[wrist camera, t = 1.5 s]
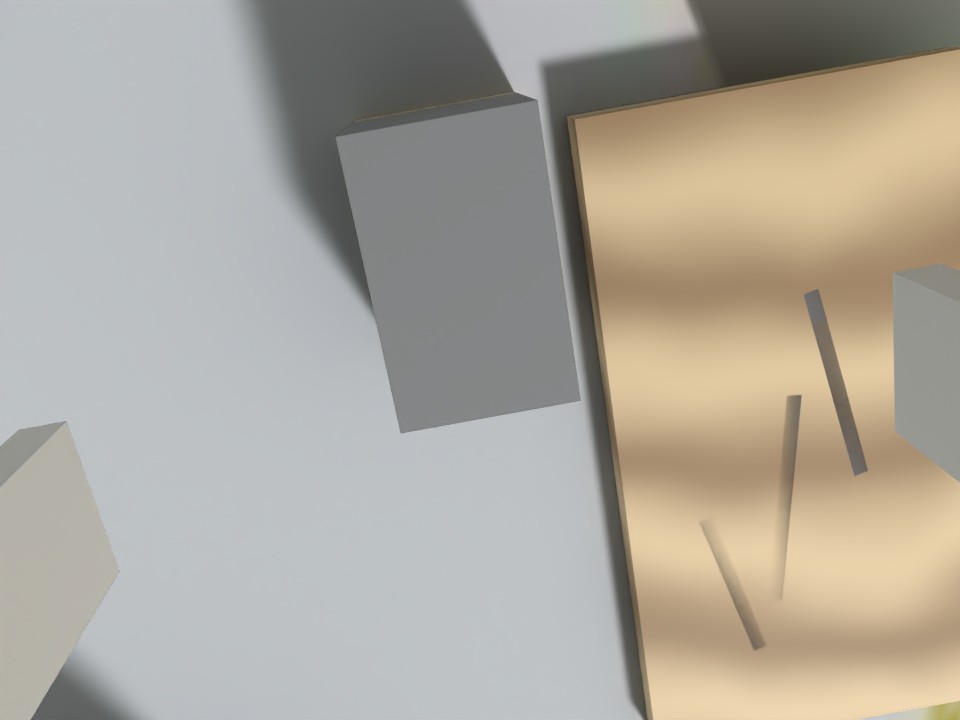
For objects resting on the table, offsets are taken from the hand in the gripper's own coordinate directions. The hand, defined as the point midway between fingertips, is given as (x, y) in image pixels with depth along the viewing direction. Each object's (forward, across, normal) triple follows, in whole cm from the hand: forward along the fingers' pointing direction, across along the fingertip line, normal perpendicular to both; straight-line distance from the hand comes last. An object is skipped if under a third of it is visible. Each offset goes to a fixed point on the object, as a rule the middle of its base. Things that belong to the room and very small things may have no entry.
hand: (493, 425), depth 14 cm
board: (+15, +10, -9) cm, 20 cm away
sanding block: (+15, 0, 0) cm, 15 cm away
